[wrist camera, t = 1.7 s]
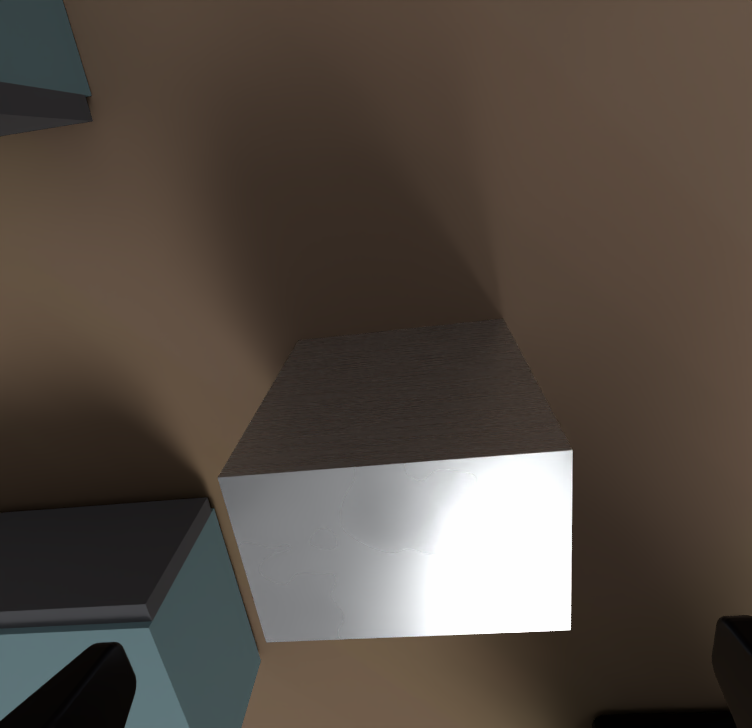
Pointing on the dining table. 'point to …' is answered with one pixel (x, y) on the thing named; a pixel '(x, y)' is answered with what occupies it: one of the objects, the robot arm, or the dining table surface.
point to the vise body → (39, 68)
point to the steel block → (404, 490)
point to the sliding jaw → (128, 607)
